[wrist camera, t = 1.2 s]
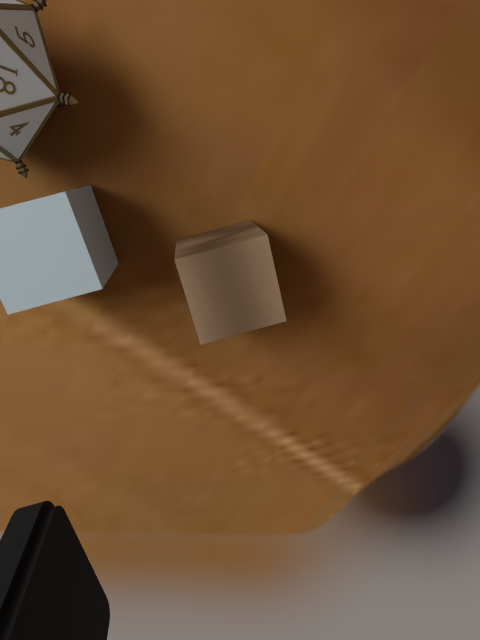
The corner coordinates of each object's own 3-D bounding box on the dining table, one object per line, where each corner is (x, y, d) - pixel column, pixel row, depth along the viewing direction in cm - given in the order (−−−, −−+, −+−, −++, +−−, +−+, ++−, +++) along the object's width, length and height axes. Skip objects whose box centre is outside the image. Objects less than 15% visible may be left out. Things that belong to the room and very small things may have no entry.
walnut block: (250, 219, 28) (267, 234, 22) (267, 291, 30) (286, 321, 24) (176, 239, 28) (174, 259, 22) (197, 310, 30) (200, 344, 24)
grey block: (90, 185, 26) (65, 191, 20) (118, 263, 28) (102, 289, 22) (9, 206, 26) (-39, 218, 20) (43, 283, 28) (7, 314, 22)
